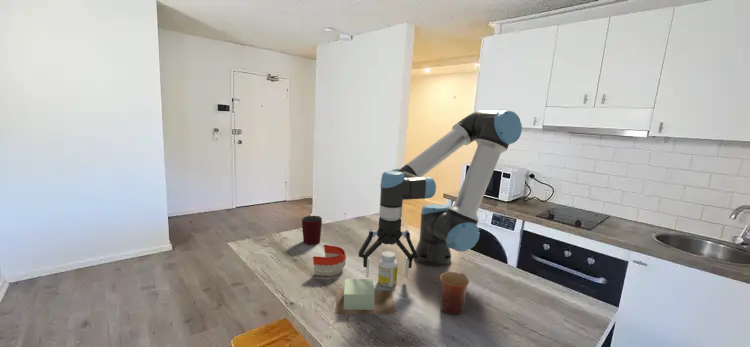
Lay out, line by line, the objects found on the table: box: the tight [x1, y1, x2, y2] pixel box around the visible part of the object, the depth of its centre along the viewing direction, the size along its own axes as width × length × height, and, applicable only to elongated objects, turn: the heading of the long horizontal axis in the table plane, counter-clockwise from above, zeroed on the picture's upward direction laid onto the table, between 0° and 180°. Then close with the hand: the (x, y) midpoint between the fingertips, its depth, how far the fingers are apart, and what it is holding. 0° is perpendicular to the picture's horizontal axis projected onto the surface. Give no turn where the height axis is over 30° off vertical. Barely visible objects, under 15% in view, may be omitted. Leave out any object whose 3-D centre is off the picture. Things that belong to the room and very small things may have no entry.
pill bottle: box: [377, 251, 398, 288], centre depth 114 cm, size 6×6×12 cm
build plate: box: [334, 289, 397, 315], centre depth 103 cm, size 18×13×1 cm
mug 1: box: [301, 215, 323, 246], centre depth 151 cm, size 12×9×11 cm
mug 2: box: [439, 271, 470, 315], centre depth 102 cm, size 12×9×10 cm
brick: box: [343, 278, 375, 310], centre depth 102 cm, size 9×9×5 cm
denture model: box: [312, 244, 347, 277], centre depth 122 cm, size 12×10×8 cm
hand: (386, 275), depth 114 cm, fingers open, 13 cm apart
